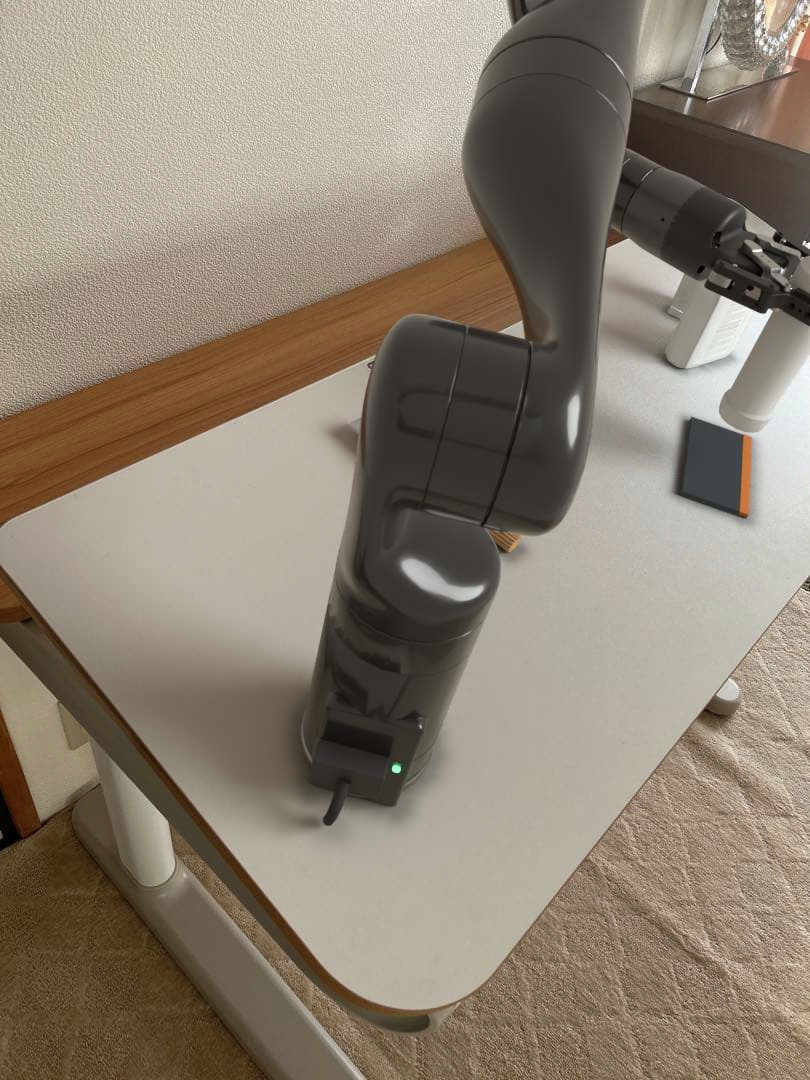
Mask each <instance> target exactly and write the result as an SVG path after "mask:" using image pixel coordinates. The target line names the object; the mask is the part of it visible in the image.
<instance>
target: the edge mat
mask: <svg viewBox="0 0 810 1080" xmlns="http://www.w3.org/2000/svg"><path fill="white" fill-rule="evenodd" d="M687 428H688V430H687V436H686V437H687V438H686V445H685V453H684V460H683V467H682V474H681V475H682V476H681V482H680V483H681V484H680V490H679V492H680V493H679V496H681V497H685V498H688V499H690V500H692V501H696V502H699V503H701V504H704V505H706V506H710V507H713V508H716V509H718V510H720V511H723V512H726V513H730V514H732V515H735V516H738V517H740V518H744V519H747V518H748V517H749V516H750V499H751V498H750V497H751V495H750V493H751V473H752V472H751V470H752V443H753V440H752V439H753V437H752V436H750V435H746V434H742V433H740V432H737V431H734V430H731V429H728V428H726V427H723V426H720V425H717V424H714V423H711V422H708V421H705V420H702V419H700V418H697V417H694V416H691V417H690V419H689V422H688V427H687Z"/></svg>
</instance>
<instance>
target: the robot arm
mask: <svg viewBox="0 0 810 1080" xmlns="http://www.w3.org/2000/svg"><path fill="white" fill-rule="evenodd" d="M505 1H506V8H507V12H508V18H509V22H510V28H508V30H507V31H506V32H505V33H504V34H503V35H502V36H501V37H500V38H499V40H498V41H497V42H496V43H495V45H494V47H493V48H492V50H491V51H490V53H489V54H488V56H487V57H486V59H485V62H484V63H483V66H482V69H481V71H480V74H479V77H478V80H477V84H476V87H475V91H474V96H473V100H472V104H471V107H470V111H469V114H468V119H467V123H466V126H465V130H464V135H463V139H462V144H461V169H462V171H461V172H462V177H463V182H464V184H465V188H466V191H467V194H468V196H469V197H468V198H469V200H470V202H471V203H470V204H471V205H472V208H473V210H474V212H475V215H476V217H477V219H478V221H479V223H480V226H481V228H482V230H483V231H484V233H485V235H486V237H487V239H488V240H489V242H490V245H491V247H492V248H493V250H494V252H495V254H496V256H497V258H498V260H499V261H500V263H501V265H502V267H503V268H504V270H505V273H506V275H507V277H508V279H509V281H510V283H511V285H512V288H513V291H514V293H515V297H516V300H517V303H518V307H519V311H520V316H521V321H522V328H523V329H522V330H523V336H524V337H523V338H522V337H518V336H514V335H510V334H507V333H503V332H499V331H495V330H491V329H488V328H483V327H479V326H476V325H472V324H466V323H464V322H461V321H456V320H452V319H447V318H444V317H440V316H435V315H431V314H427V313H426V314H425V313H417V312H414V313H409V314H406V315H404V316H401V318H400V319H398V320H396V322H395V323H393V325H392V326H391V327H390V328H389V330H388V331H387V332H386V334H384V337H383V339H382V340H381V342H380V344H379V347H378V349H377V351H376V353H375V355H374V359H373V362H372V365H371V367H370V370H369V371H370V372H369V375H368V379H367V382H366V383H367V384H366V387H365V391H364V395H363V396H364V397H363V403H362V408H361V414H360V418H361V420H360V426H359V434H357V442H356V452H355V458H354V459H355V460H354V469H353V477H352V482H351V483H352V484H351V489H350V490H351V491H350V497H349V502H348V508H347V514H346V517H345V518H346V519H345V523H344V527H343V530H342V531H343V532H342V536H341V540H340V544H339V548H338V553H337V557H336V562H335V568H334V573H333V577H332V582H331V587H330V591H329V595H328V599H327V605H326V611H325V614H324V619H323V623H322V629H321V633H320V638H319V643H318V647H317V652H316V658H315V661H314V666H313V672H312V676H311V682H310V686H309V691H308V696H307V701H306V708H305V709H304V711H303V714H302V719H301V724H300V729H299V741H300V748H301V751H302V754H303V756H304V759H305V761H306V764H307V765H308V766H309V769H310V770H309V775H308V778H307V782H308V783H309V784H310V785H312V786H316V787H320V788H324V789H327V790H330V791H334V793H333V796H332V798H331V801H330V804H329V806H328V809H327V810H326V813H325V814H324V815H323V817H322V823H323V824H324V825H325V826H327V827H330V826H333V824H334V823H335V822H336V820H337V819H338V818H339V815H340V813H341V811H342V809H343V806H344V804H345V801H346V798H347V796H350V797H354V798H357V799H363V800H367V801H371V802H373V803H374V802H375V803H379V804H382V805H386V806H389V807H396V806H397V804H398V802H399V800H400V797H401V794H402V793H403V792H404V791H406V790H408V789H409V788H410V787H412V786H413V785H414V784H415V783H416V782H418V781H419V780H420V779H421V777H422V776H423V774H424V773H425V771H426V769H427V767H428V765H429V763H430V761H431V757H432V755H433V750H434V747H435V744H436V741H437V739H438V736H439V734H440V732H441V729H442V726H443V724H444V721H445V718H446V716H447V714H448V711H449V709H450V706H451V704H452V702H453V700H454V697H455V694H456V692H457V689H458V687H459V685H460V682H461V680H462V677H463V675H464V673H465V670H466V668H467V665H468V663H469V660H470V658H471V655H472V653H473V650H474V648H475V646H476V643H477V641H478V639H479V636H480V634H481V631H482V629H483V626H484V624H485V622H486V619H487V617H488V614H489V612H490V610H491V607H492V605H493V602H494V601H495V597H496V595H497V594H498V593H497V592H498V590H499V586H500V584H501V583H500V582H501V578H502V577H501V576H502V561H501V556H500V551H499V549H498V546H497V543H496V542H495V541H494V540H493V538H492V536H491V535H490V533H489V532H488V530H487V529H491V530H496V531H497V532H499V531H500V532H505V533H509V534H515V535H520V536H521V537H533V538H534V537H540V536H544V535H547V534H549V533H551V532H552V531H553V530H555V529H556V528H557V527H558V526H559V525H560V524H561V523H562V522H563V520H564V519H565V517H566V516H567V514H568V513H569V511H570V509H571V507H572V505H573V504H574V501H575V498H576V497H577V493H578V491H579V488H580V485H581V482H582V479H583V476H584V472H585V468H586V464H587V460H588V455H589V449H590V445H591V439H592V433H593V428H594V427H593V426H594V416H595V407H596V406H595V405H596V394H597V384H598V383H597V382H598V370H599V369H598V368H599V353H600V336H601V335H600V334H601V317H602V303H603V291H604V289H603V288H604V277H605V275H604V274H605V267H606V266H605V265H606V257H607V253H608V252H607V251H608V244H609V239H610V231H611V229H612V230H615V232H618V233H619V234H621V235H623V236H624V237H626V238H628V239H629V240H631V241H632V242H633V243H634V245H636V246H638V247H639V248H640V249H642V250H643V251H645V252H647V253H648V254H650V255H652V256H654V257H655V258H657V259H659V260H661V261H662V262H664V263H665V264H667V265H669V266H670V267H673V268H674V269H676V270H677V271H679V272H681V273H683V275H684V274H686V275H688V276H690V277H691V278H693V279H695V280H697V281H702V280H705V279H707V280H706V282H705V284H704V287H705V288H706V289H708V290H710V291H712V292H714V293H717V294H719V295H721V296H723V297H725V298H727V299H730V300H732V301H734V302H736V303H738V304H741V305H743V306H745V307H747V308H749V309H751V310H754V311H753V312H756V313H758V314H761V315H765V314H767V312H768V310H770V311H772V312H773V311H775V312H781V310H783V312H785V313H787V314H789V315H790V316H792V317H794V318H795V319H797V320H799V321H801V322H802V323H804V324H806V325H808V326H809V327H810V294H809V293H807V292H805V291H804V290H802V289H800V288H796V289H795V290H794V291H793V289H794V288H795V286H794V285H793V284H792V283H791V282H790V279H791V277H792V275H793V273H794V271H795V270H796V268H797V266H798V264H799V262H800V260H802V259H803V258H804V257H807V256H810V248H809V247H807V246H806V245H805V244H803V243H801V242H800V241H798V240H796V239H795V238H794V237H792V236H790V235H789V234H787V233H786V232H784V231H783V230H775V231H774V233H773V235H772V237H771V236H768V235H766V234H762V233H755V232H753V231H749V230H747V226H746V222H747V219H748V213H747V210H746V208H745V207H744V206H743V205H741V204H740V203H738V202H736V201H734V200H732V199H730V198H728V197H727V196H725V195H723V194H721V193H719V192H717V191H715V190H714V189H711V188H710V187H708V186H706V185H704V184H702V183H700V182H699V181H697V180H695V179H694V178H691V177H689V176H687V175H685V174H682V173H679V172H676V171H673V170H671V169H669V168H666V167H664V166H662V165H660V164H658V163H656V162H654V161H653V160H651V159H649V158H647V157H646V156H644V155H641V154H640V153H638V152H636V151H634V150H632V149H630V148H627V145H628V139H629V137H628V136H629V131H630V123H631V117H632V109H633V100H634V99H633V97H634V86H635V79H636V77H635V76H636V69H637V67H636V66H637V58H638V50H639V43H640V41H639V40H640V33H641V26H642V22H643V17H644V11H645V8H646V2H647V0H505ZM486 528H487V529H486Z"/></svg>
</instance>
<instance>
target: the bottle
mask: <svg viewBox="0 0 810 1080" xmlns="http://www.w3.org/2000/svg"><path fill="white" fill-rule="evenodd" d="M790 282H791V283H792V284H793V285H794V286H795V288H794V289H793V291H794V290H795V289H796V288H800V289H802V290H804V291H805V292H807V293H809V294H810V256H807V257H803V259H802V260H800V262H799V264H798V266H797V268H796V270H795V271H794V273H793V275H791V279H790ZM809 357H810V327H809V326H808V325H806V324H804V323H802V322H801V321H799V320H797V319H795V318H794V317H792V316H790V315H789V314H787V313H785V312H783V310H781V312H775V311H772V312H771V314H770V315H769V317H768V319H767V321H766V323H765V325H763V328H762V330H761V332H760V334H759V335H758V338H757V340H756V341H755V343H754V345H753V347H752V348H751V350H750V351H749V354H748V356H747V358H746V359H745V361H744V362H743V365H742V367H741V369H740V370H739V373H738V374H737V376H736V378H735V380H734V381H733V383H732V385H731V387H730V388H728V389H727V390H726V391H725V392H724V394H723V396H722V397H721V399H720V402H719V404H718V405H719V406H718V414H719V416H720V417H721V419H722V420H723V421H724V422H725V423H726V424H727V425H728V426H730V427H732V428H734V429H735V430H738V431H741V432H744V433H750V434H754V433H758V432H761V431H762V430H763V429H764V428H765V427H766V426H767V425H768V424H769V423H770V421H772V419H773V417H774V413H775V412H774V410H775V408H776V407H777V405H778V404H779V402H780V401H781V400H782V398H783V397H784V395H785V393H786V392H787V390H788V389H789V387H790V386H791V385H792V383H793V382H794V380H795V378H796V377H797V375H798V374H799V372H800V371H801V369H802V368H803V366H804V365H805V364H806V362H807V360H808V359H809Z"/></svg>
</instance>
